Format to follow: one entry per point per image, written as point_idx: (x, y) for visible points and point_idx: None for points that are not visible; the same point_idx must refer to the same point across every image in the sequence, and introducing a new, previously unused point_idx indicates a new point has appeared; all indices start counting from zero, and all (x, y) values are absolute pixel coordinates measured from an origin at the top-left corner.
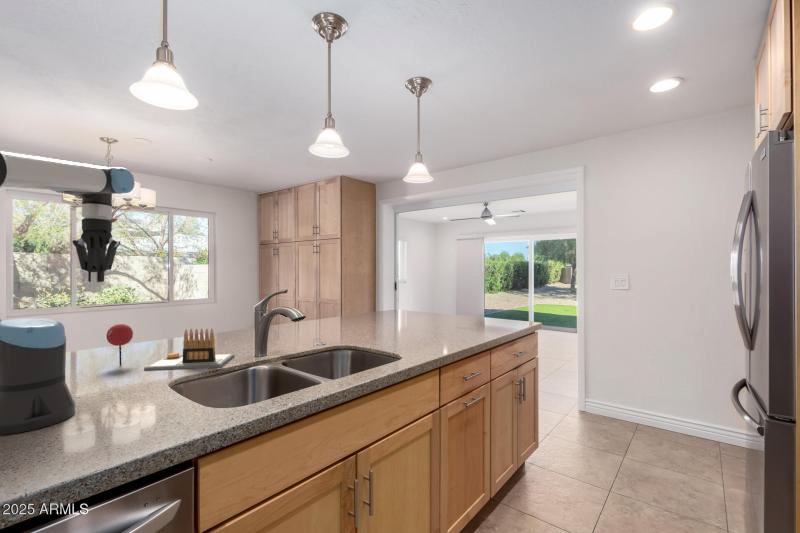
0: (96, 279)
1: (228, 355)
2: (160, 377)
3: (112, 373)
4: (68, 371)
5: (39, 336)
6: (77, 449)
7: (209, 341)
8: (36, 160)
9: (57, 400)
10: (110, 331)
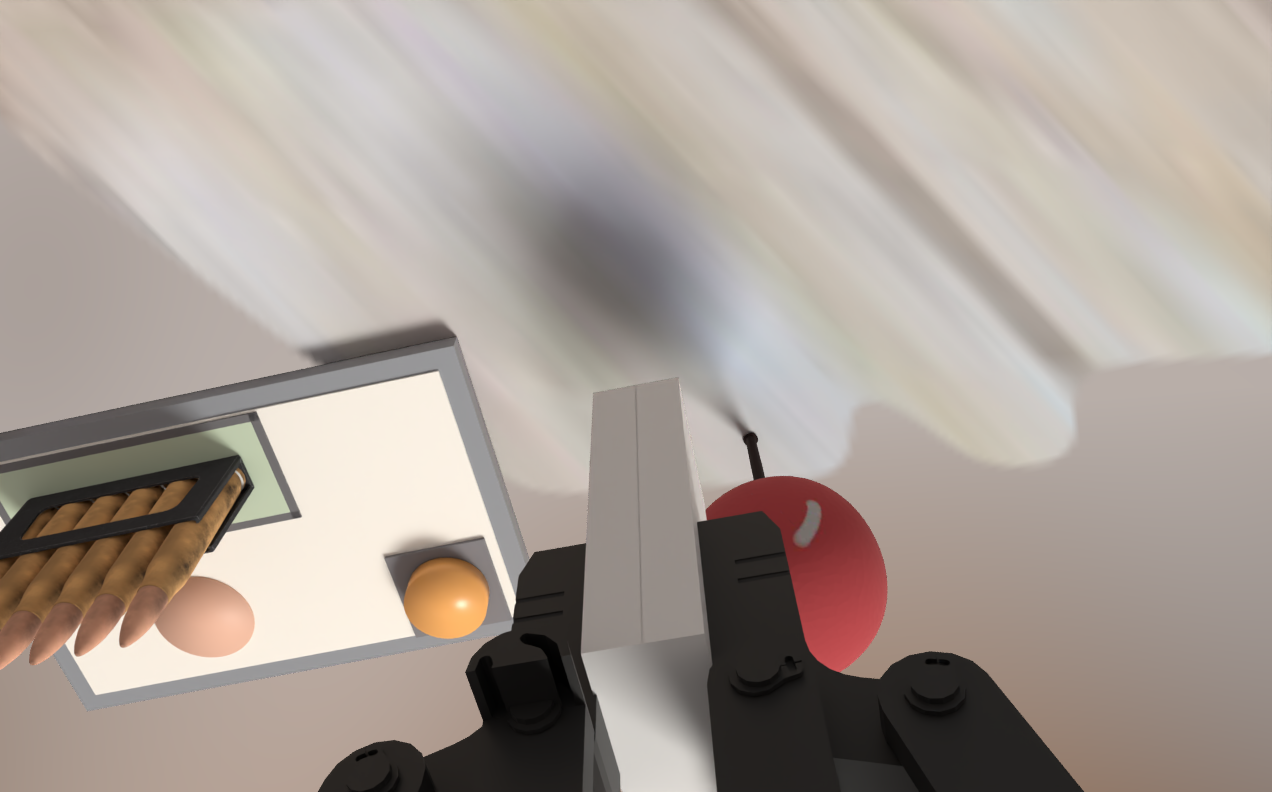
0: (587, 548)
1: (81, 664)
2: (162, 173)
3: (633, 247)
4: (1028, 274)
5: None
6: None
7: None
8: None
9: None
10: (809, 531)
